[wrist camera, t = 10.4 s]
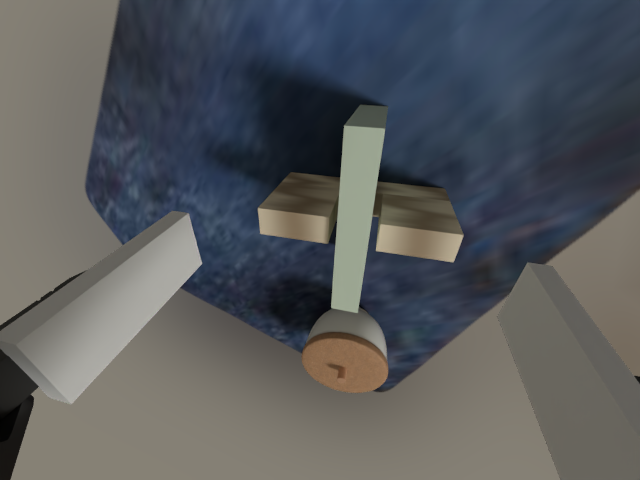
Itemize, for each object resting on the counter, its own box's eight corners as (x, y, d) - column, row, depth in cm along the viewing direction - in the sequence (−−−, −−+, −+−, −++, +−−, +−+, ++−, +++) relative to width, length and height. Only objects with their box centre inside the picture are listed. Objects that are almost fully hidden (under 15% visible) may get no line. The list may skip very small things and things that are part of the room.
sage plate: (360, 104, 25) (343, 125, 17) (387, 106, 25) (385, 128, 17) (346, 248, 34) (331, 308, 26) (366, 251, 34) (357, 313, 25)
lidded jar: (309, 331, 44) (291, 388, 36) (322, 283, 38) (305, 339, 30) (375, 352, 43) (371, 415, 36) (399, 306, 37) (401, 370, 30)
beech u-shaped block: (291, 193, 32) (260, 233, 24) (290, 172, 30) (257, 207, 23) (438, 211, 29) (453, 262, 22) (444, 188, 28) (463, 235, 20)
